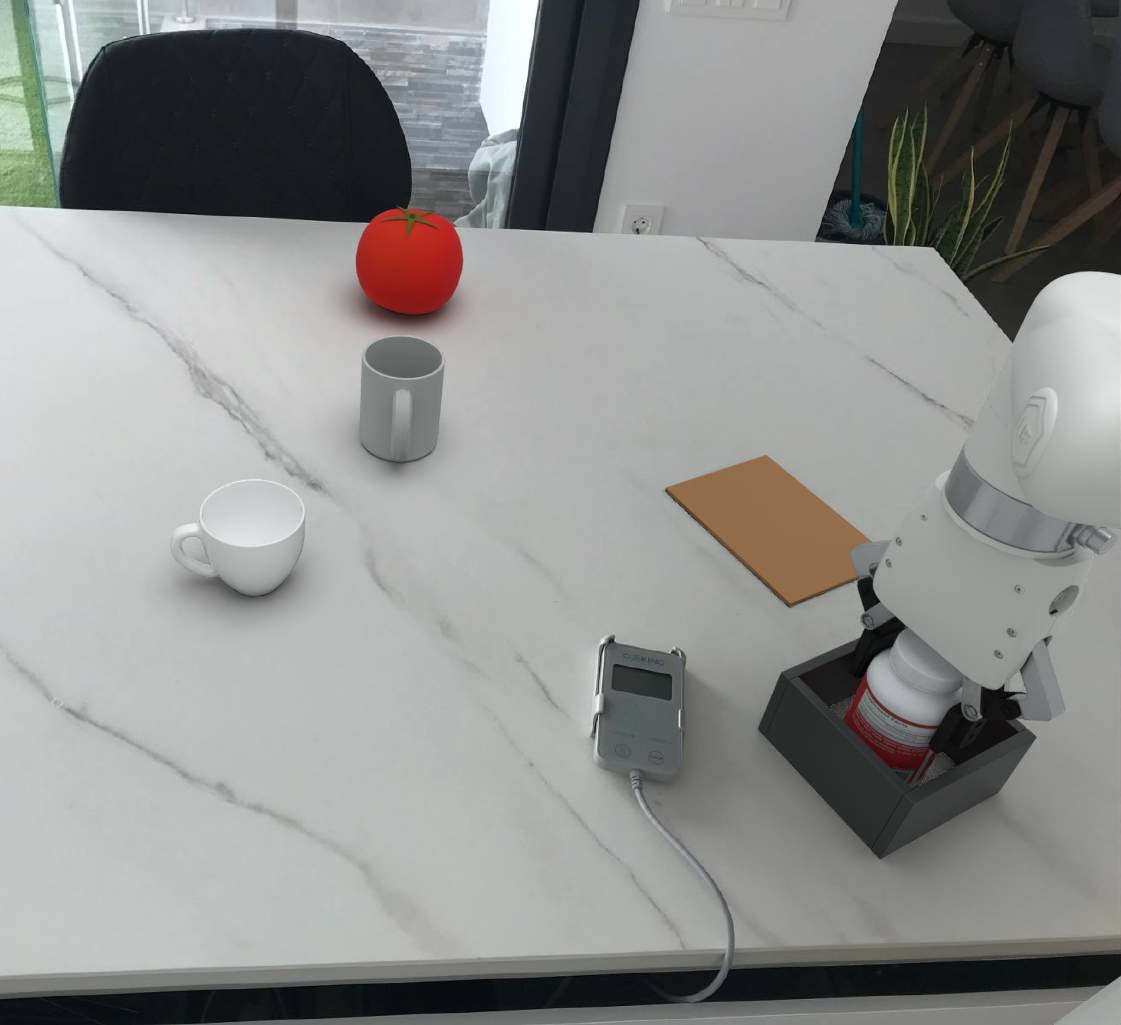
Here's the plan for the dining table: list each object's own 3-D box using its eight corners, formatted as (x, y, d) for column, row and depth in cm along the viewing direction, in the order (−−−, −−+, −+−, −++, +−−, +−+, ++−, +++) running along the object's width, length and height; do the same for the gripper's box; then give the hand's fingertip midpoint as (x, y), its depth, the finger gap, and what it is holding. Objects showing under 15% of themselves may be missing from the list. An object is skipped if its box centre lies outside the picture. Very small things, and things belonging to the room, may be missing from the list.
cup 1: (313, 605, 82) (312, 539, 78) (178, 622, 80) (170, 555, 75) (297, 539, 88) (296, 473, 83) (171, 553, 85) (164, 486, 81)
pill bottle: (884, 715, 78) (941, 608, 71) (941, 783, 74) (1008, 676, 67) (813, 735, 76) (864, 627, 69) (867, 806, 72) (928, 698, 65)
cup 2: (436, 418, 102) (443, 337, 96) (439, 485, 95) (447, 400, 89) (360, 415, 102) (363, 332, 96) (356, 481, 94) (359, 396, 88)
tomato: (464, 284, 123) (473, 196, 116) (449, 339, 113) (458, 247, 106) (367, 271, 123) (370, 183, 116) (344, 324, 114) (346, 232, 107)
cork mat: (894, 564, 91) (895, 560, 91) (789, 607, 86) (790, 603, 86) (765, 457, 101) (766, 454, 101) (664, 490, 96) (665, 487, 96)
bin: (999, 791, 74) (1037, 736, 70) (880, 859, 69) (913, 804, 65) (872, 674, 81) (900, 618, 77) (757, 728, 76) (780, 671, 72)
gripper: (1208, 573, 56) (1053, 782, 67) (943, 397, 67) (850, 603, 78) (1119, 618, 52) (973, 829, 64) (857, 426, 64) (773, 635, 75)
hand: (906, 703), depth 71 cm, fingers closed on pill bottle, 6 cm apart
